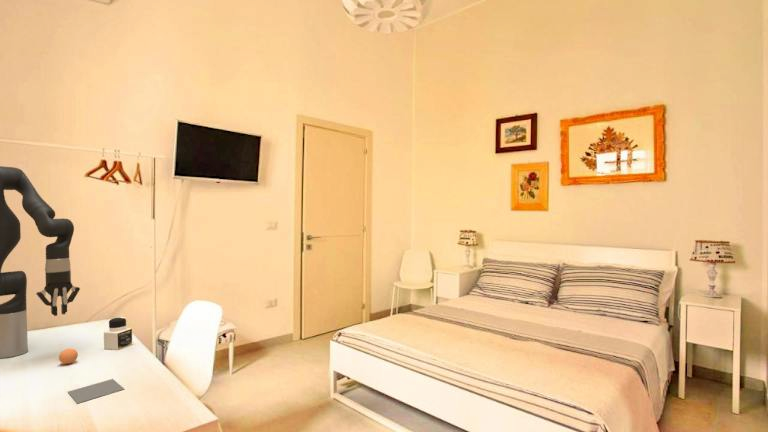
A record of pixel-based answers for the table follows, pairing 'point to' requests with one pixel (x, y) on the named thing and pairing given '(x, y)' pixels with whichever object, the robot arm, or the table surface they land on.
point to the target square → (95, 391)
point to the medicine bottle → (117, 334)
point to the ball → (68, 356)
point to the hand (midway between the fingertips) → (59, 314)
